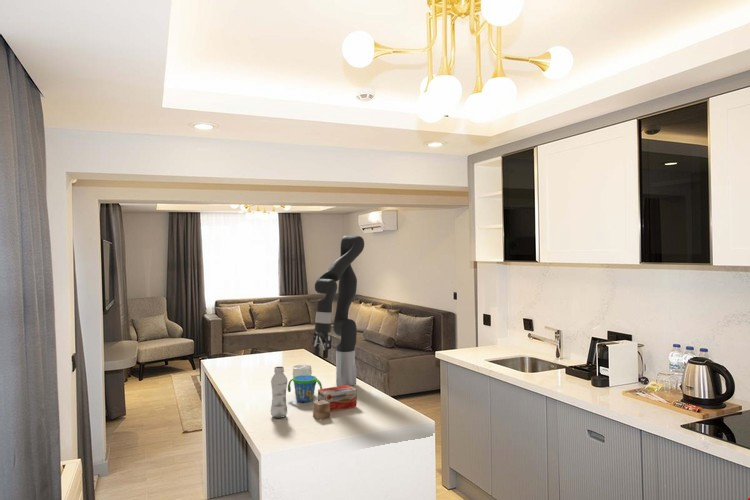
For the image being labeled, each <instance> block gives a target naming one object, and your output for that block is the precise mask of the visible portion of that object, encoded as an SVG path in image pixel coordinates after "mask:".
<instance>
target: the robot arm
mask: <svg viewBox="0 0 750 500" xmlns="http://www.w3.org/2000/svg"><path fill="white" fill-rule="evenodd" d="M364 249H365V240H364V238H363V237H362V236H360V235H343V237H342V238H341V241H340V257H338V258H337V259H336V260H334V262H332V263H331V264H330V267H329V268H328V270H327V271H326V272H324V273H323V274H322V275H320V276H319V277H318V278H317V279H316V281H315V283H314V291H315V292H316V293H317V294H320V295H321V294H323V295H325V297H324V298H320V299H319V298H318V300H317V303H316V313H315V321H314V332H313V333H312V334H313V335H312V343H311V345H312V346H313V347H314V354H313V355H314V356H320V346H322V359H328V357H329V356H328V355H329V350H331V349H332V335H329V333H331V331H332V320H333V317H332V316H333V314H332V311H333V309H332V308H333V302H334V300H335V296H336V293H337V300H336V309H335V315H334V320H333V332H334V333H335V334H336V335H337V336H340V342H339V343H338V344H336V346H335V347H336V349H335V351H336V352H335V355H336V356H335V357H336V358H335V359H336V361H335V362H336V363H335V367H336V368H335V369H336V371H335V372H336V373H335V374H336V375H335V376H336V379H335V382H336V385H335V386H336V387H338V386H345V385H349V386H351V387H354V386H355V385H357V365H356V362H355V359H356V358H355V357H356V356H355V354H356V351H355V348H356V344H357V334H358V332H357V331H358V329H357V324H356V321H355V320H354V319H351V318H349V310H350V306H351V304H352V303H353V300H354V299H355V296H356V293H357V286H358V284H357V283H358V278H357V275H356V274H355V271H354V269H353V267H352V263H353V262H354V261H355V260H356V259H357V257H359V256H360V254H362V252H363V251H364ZM337 282H338V284H337Z"/></svg>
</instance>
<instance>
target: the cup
mask: <svg viewBox="0 0 750 500" xmlns="http://www.w3.org/2000/svg"><path fill="white" fill-rule="evenodd" d="M312 373H313V371H312V366H311V365H308V364H298V365H294V366H293V367H292V379H293V378H294V377H296V376H301V375H311V376H313V374H312ZM293 386H294V385H293ZM294 388H295V386H294Z"/></svg>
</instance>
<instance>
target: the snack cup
mask: <svg viewBox="0 0 750 500" xmlns="http://www.w3.org/2000/svg"><path fill="white" fill-rule="evenodd" d="M291 382H293V386H295V387H294V392H295V398H296V399H295V400H296V401H297V402H299V403H308V402H312V401H313V400H314V395H315V389H316V385H317V384H318V386H319V389H323V385H322V382H321V381H320V380H319V378H317V376H315V375H301V376H296V377H294V378H293V377H292V378H291V379H290V380H289V381H288V383H287V391H288V393H290V392H291V390H292V389H291Z"/></svg>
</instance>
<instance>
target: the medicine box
mask: <svg viewBox="0 0 750 500" xmlns="http://www.w3.org/2000/svg"><path fill="white" fill-rule="evenodd" d="M357 391H358V390H357V389H356V388H355V387H354V386H349V385H345V386H332V387H326V388H322V389H320V388H319V389H318V390H317V401H321V400H325V401H327V402H329V403H330V412H335V411H340V410H341V411H342V410H347V409H355V408H357V404H358V402H357V401H358V398H357V397H358V394H357V393H358V392H357Z"/></svg>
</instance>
